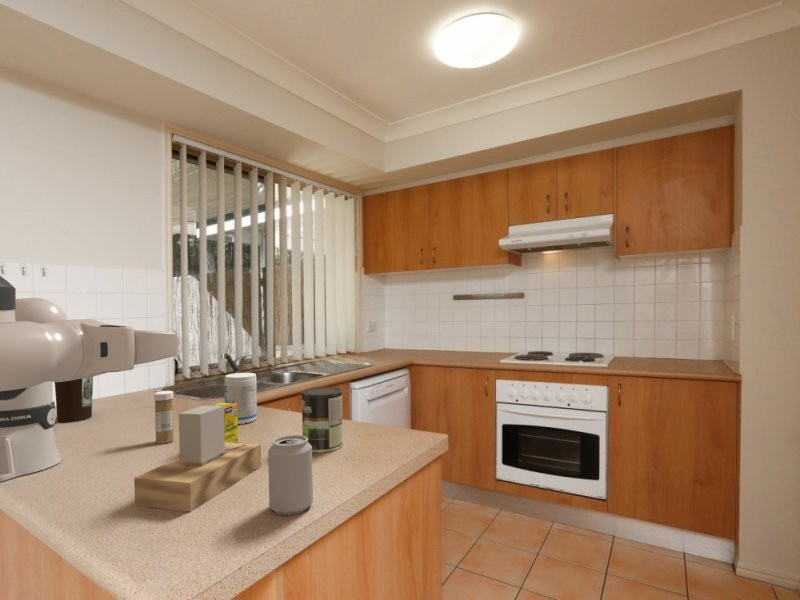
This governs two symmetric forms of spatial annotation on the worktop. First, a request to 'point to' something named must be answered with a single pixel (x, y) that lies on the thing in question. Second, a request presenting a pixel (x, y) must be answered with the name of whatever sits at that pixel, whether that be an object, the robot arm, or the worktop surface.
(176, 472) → the plank
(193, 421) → the block
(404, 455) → the worktop surface
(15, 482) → the worktop surface
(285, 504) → the can
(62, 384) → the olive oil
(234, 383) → the supplement tub
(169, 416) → the sprinkles bottle
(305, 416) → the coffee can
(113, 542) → the worktop surface
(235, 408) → the supplement box
